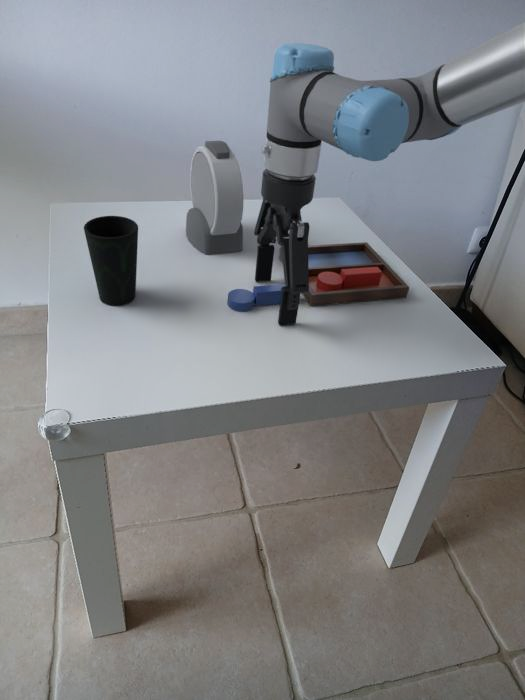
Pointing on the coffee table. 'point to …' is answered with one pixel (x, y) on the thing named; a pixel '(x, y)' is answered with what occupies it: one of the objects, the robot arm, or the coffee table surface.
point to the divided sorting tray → (348, 258)
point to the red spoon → (349, 278)
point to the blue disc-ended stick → (254, 297)
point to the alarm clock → (215, 200)
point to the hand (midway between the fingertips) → (274, 300)
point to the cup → (113, 257)
